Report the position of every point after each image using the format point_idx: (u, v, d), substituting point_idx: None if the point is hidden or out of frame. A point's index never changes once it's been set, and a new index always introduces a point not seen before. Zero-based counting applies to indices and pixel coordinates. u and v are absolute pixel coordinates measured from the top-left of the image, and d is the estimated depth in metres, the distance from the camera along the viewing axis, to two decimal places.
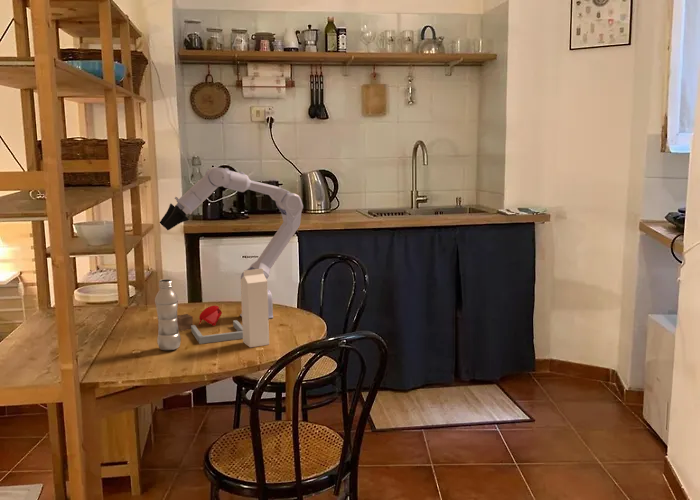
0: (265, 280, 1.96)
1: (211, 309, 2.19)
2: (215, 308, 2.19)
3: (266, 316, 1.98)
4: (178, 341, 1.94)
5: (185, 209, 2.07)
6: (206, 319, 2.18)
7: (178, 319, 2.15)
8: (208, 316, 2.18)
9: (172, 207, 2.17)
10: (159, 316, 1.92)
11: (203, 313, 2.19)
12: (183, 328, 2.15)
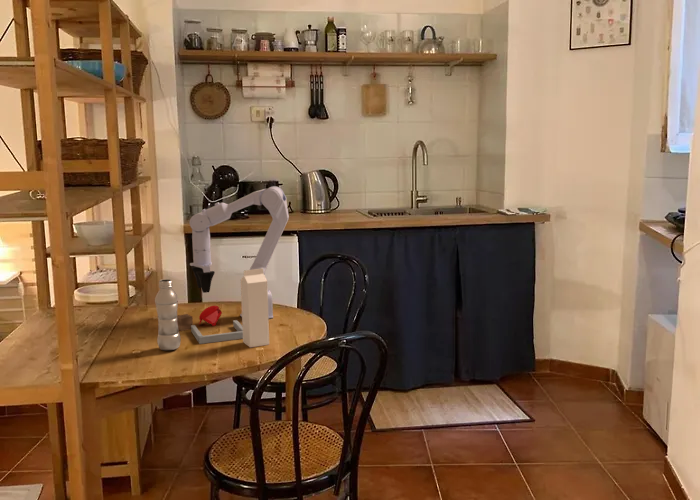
0: (265, 280, 1.96)
1: (211, 309, 2.19)
2: (215, 308, 2.19)
3: (266, 316, 1.98)
4: (178, 341, 1.94)
5: (205, 269, 2.20)
6: (206, 319, 2.18)
7: (178, 319, 2.15)
8: (208, 316, 2.18)
9: (195, 269, 2.29)
10: (159, 316, 1.92)
11: (203, 313, 2.19)
12: (183, 328, 2.15)
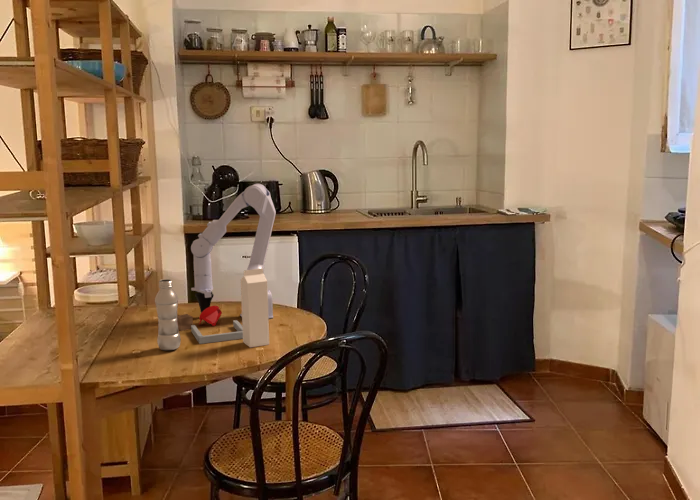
0: (265, 280, 1.96)
1: (211, 309, 2.19)
2: (215, 308, 2.19)
3: (266, 316, 1.98)
4: (178, 341, 1.94)
5: (206, 295, 2.21)
6: (206, 319, 2.18)
7: (178, 319, 2.15)
8: (208, 316, 2.18)
9: None
10: (159, 316, 1.92)
11: (203, 313, 2.19)
12: (183, 328, 2.15)
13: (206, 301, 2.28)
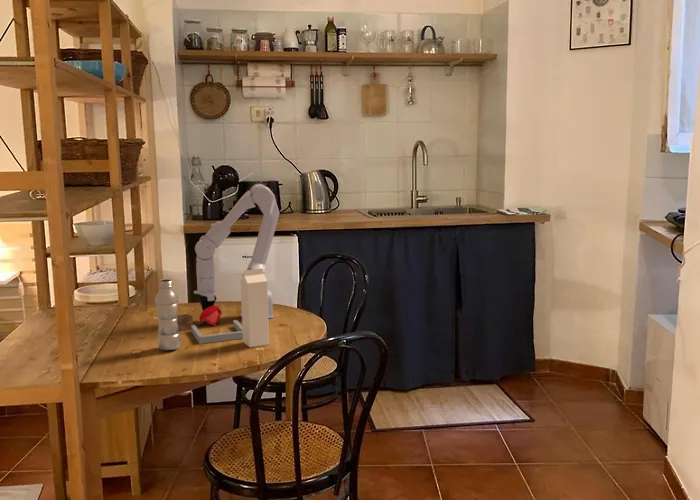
0: (265, 280, 1.96)
1: (211, 309, 2.19)
2: (215, 308, 2.19)
3: (266, 316, 1.98)
4: (178, 341, 1.94)
5: (209, 298, 2.17)
6: (206, 319, 2.17)
7: (178, 319, 2.15)
8: (208, 316, 2.18)
9: None
10: (159, 316, 1.92)
11: (203, 313, 2.18)
12: (183, 328, 2.15)
13: (209, 304, 2.24)
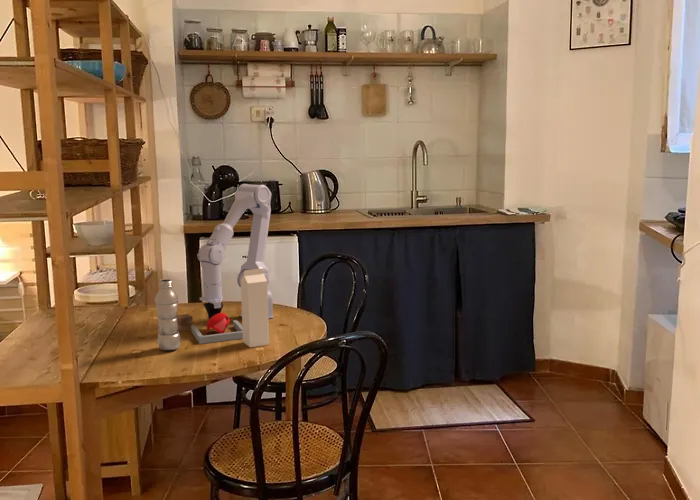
0: (265, 280, 1.96)
1: (219, 316, 2.09)
2: (223, 315, 2.10)
3: (266, 316, 1.98)
4: (178, 341, 1.94)
5: (216, 305, 2.07)
6: (214, 327, 2.08)
7: (178, 319, 2.15)
8: (216, 323, 2.09)
9: None
10: (159, 316, 1.92)
11: (211, 321, 2.09)
12: (183, 328, 2.15)
13: (215, 311, 2.14)
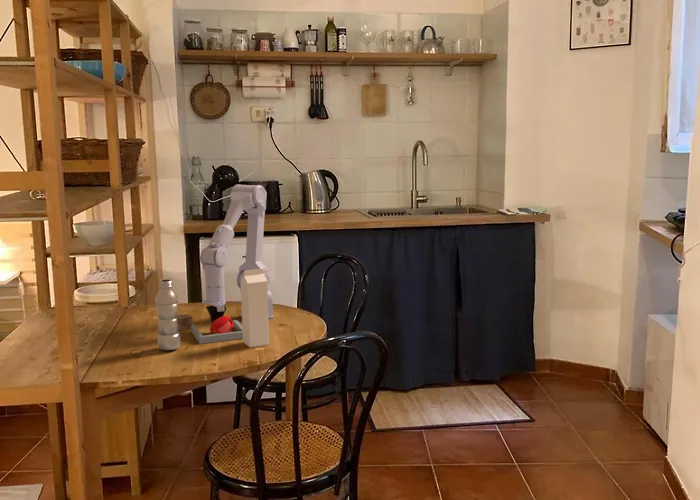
0: (265, 280, 1.96)
1: (223, 320, 2.06)
2: (227, 318, 2.07)
3: (266, 316, 1.98)
4: (178, 341, 1.94)
5: (219, 308, 2.04)
6: (218, 331, 2.05)
7: (178, 319, 2.15)
8: (220, 327, 2.05)
9: None
10: (159, 316, 1.92)
11: (215, 324, 2.05)
12: (183, 328, 2.15)
13: (218, 315, 2.11)
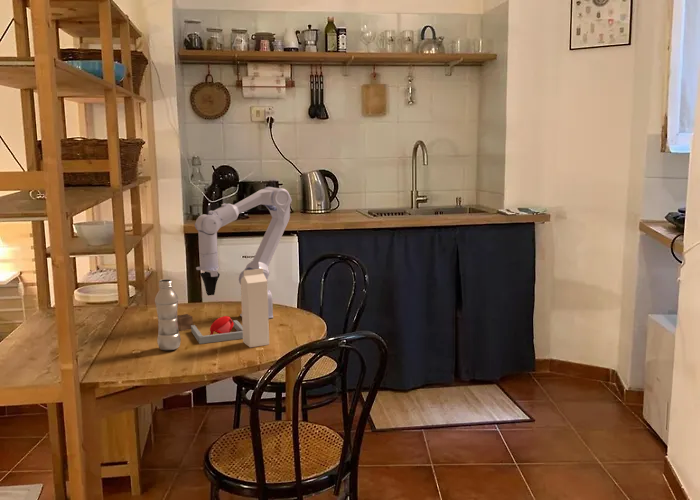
0: (265, 280, 1.96)
1: (223, 320, 2.06)
2: (227, 319, 2.07)
3: (266, 316, 1.98)
4: (178, 341, 1.94)
5: (212, 274, 2.11)
6: (218, 331, 2.05)
7: (178, 319, 2.15)
8: (220, 327, 2.05)
9: None
10: (159, 316, 1.92)
11: (215, 324, 2.05)
12: (183, 328, 2.15)
13: (212, 281, 2.17)
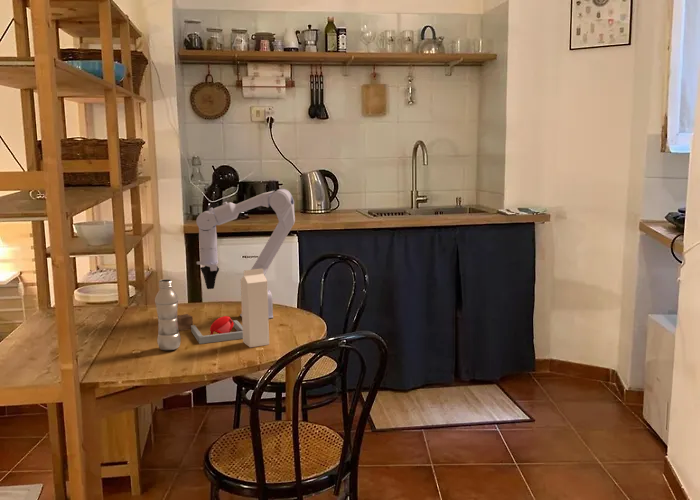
0: (265, 280, 1.96)
1: (223, 320, 2.06)
2: (227, 319, 2.07)
3: (266, 316, 1.98)
4: (178, 341, 1.94)
5: (212, 268, 2.19)
6: (218, 331, 2.05)
7: (178, 319, 2.15)
8: (220, 327, 2.05)
9: None
10: (159, 316, 1.92)
11: (215, 325, 2.05)
12: (183, 328, 2.15)
13: (211, 275, 2.26)
